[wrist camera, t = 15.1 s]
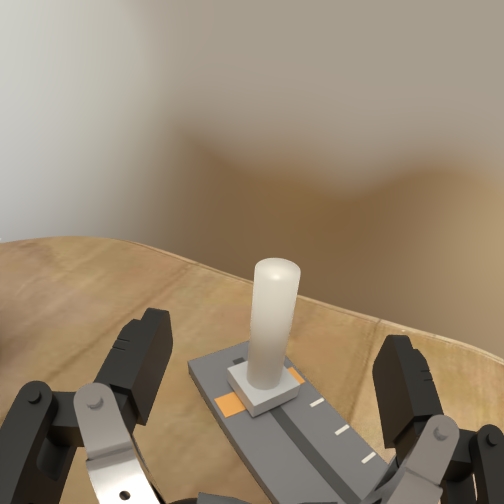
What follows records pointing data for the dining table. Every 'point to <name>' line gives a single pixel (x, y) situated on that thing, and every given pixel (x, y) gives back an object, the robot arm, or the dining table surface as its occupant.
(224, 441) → the dining table surface
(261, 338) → the fader
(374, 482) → the track board
